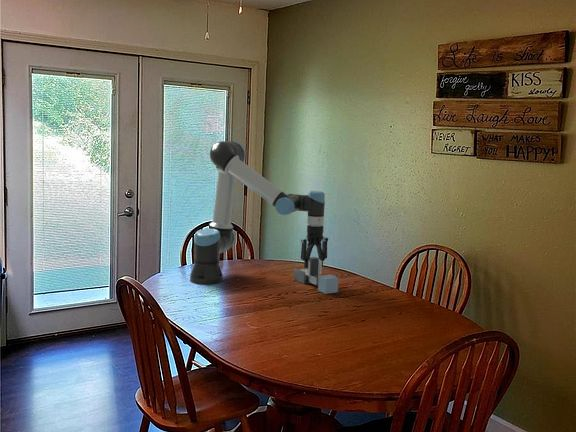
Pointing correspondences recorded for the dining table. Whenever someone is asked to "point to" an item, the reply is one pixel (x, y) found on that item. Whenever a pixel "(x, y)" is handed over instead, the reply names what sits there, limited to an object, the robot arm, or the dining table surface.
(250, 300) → the dining table surface
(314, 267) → the gray bent bar
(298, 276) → the open u-shaped channel
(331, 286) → the socket
